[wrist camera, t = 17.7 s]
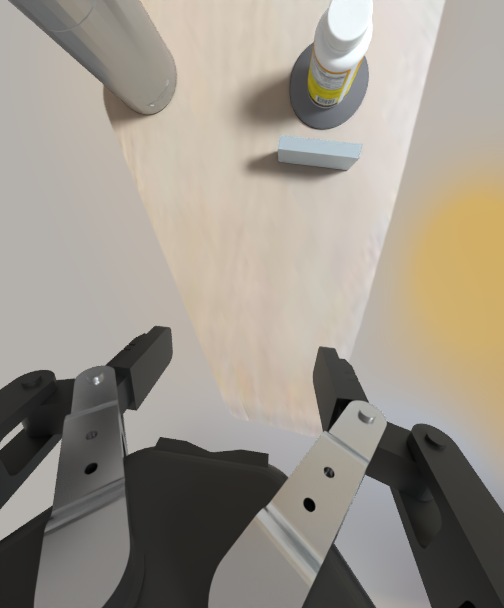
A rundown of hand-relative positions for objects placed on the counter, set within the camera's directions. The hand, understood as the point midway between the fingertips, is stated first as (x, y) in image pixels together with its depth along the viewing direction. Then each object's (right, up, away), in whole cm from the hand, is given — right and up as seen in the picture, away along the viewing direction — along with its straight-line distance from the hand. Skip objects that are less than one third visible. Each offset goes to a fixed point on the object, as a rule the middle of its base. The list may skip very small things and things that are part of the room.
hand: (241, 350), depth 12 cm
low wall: (+9, +23, +21) cm, 32 cm away
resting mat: (+11, +32, +18) cm, 38 cm away
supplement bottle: (+11, +31, +18) cm, 38 cm away
